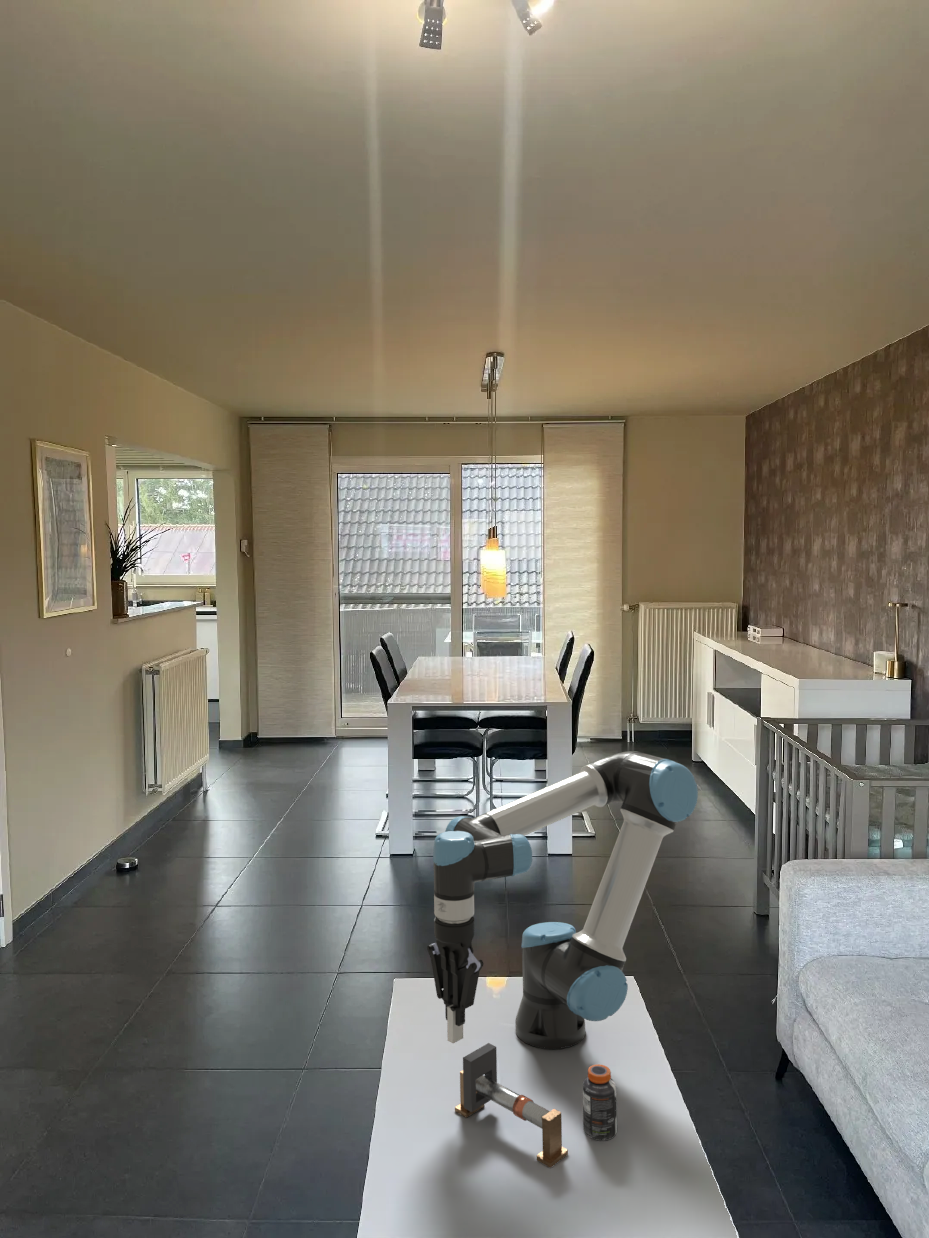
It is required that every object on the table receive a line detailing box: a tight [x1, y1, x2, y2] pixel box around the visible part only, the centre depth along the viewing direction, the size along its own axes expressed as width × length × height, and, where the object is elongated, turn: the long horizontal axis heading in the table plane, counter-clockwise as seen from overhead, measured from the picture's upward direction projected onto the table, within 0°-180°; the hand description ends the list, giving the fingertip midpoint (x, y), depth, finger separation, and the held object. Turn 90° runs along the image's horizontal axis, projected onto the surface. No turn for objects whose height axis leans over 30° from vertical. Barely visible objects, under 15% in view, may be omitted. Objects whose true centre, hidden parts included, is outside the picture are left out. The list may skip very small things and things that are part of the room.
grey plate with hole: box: [462, 1042, 498, 1112], centre depth 162 cm, size 2×7×9 cm, turn 135°
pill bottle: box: [582, 1063, 618, 1141], centre depth 157 cm, size 6×6×11 cm
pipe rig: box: [454, 1069, 569, 1169], centre depth 157 cm, size 23×5×8 cm, turn 45°
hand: (455, 1039), depth 165 cm, fingers closed
